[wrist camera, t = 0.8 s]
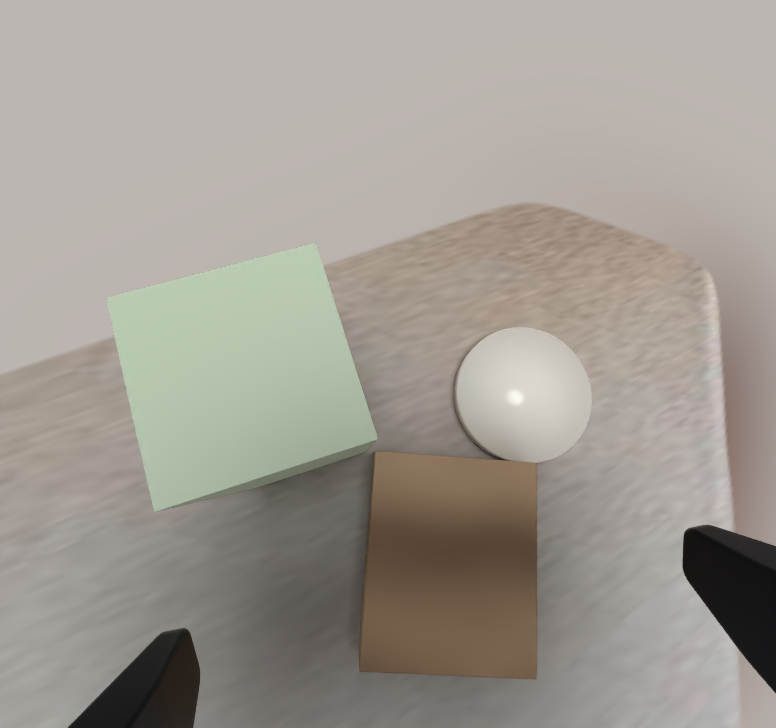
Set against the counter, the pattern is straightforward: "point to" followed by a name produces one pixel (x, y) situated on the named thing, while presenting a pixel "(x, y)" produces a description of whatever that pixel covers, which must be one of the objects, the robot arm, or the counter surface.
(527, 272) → the counter surface
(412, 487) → the podium
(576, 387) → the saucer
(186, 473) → the carton
